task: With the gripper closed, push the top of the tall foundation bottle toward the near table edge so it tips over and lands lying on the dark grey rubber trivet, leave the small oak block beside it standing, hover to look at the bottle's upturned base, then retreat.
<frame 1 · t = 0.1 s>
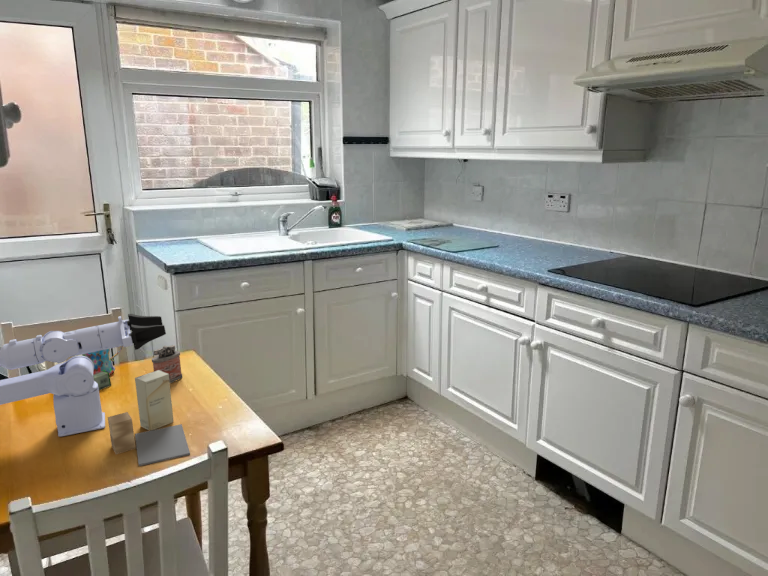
hand: (163, 325, 136), 22 cm above the table, tool horizontal, fingers open, 7 cm apart
oak block: (123, 447, 123), on the table
mug: (104, 374, 163), on the table
trivet: (161, 444, 124), on the table
lighter: (168, 381, 157), on the table
medication box: (88, 393, 151), on the table
skincare box: (157, 424, 133), on the table
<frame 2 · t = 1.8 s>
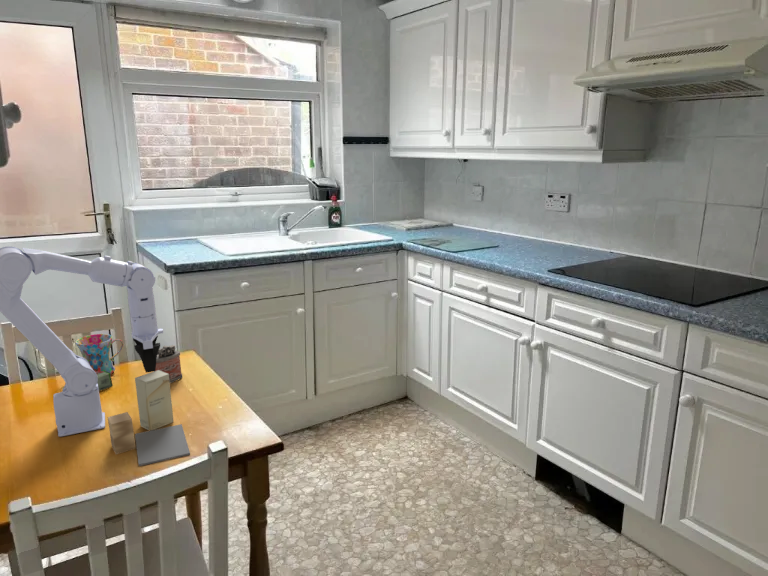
hand: (149, 367, 140), 10 cm above the table, tool pointing down, fingers open, 5 cm apart
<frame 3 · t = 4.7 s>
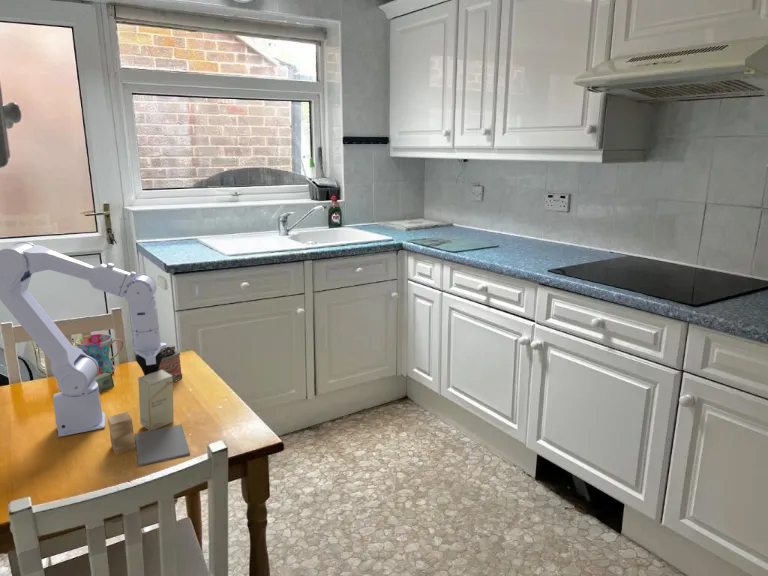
hand: (152, 383, 134), 9 cm above the table, tool pointing down, fingers closed
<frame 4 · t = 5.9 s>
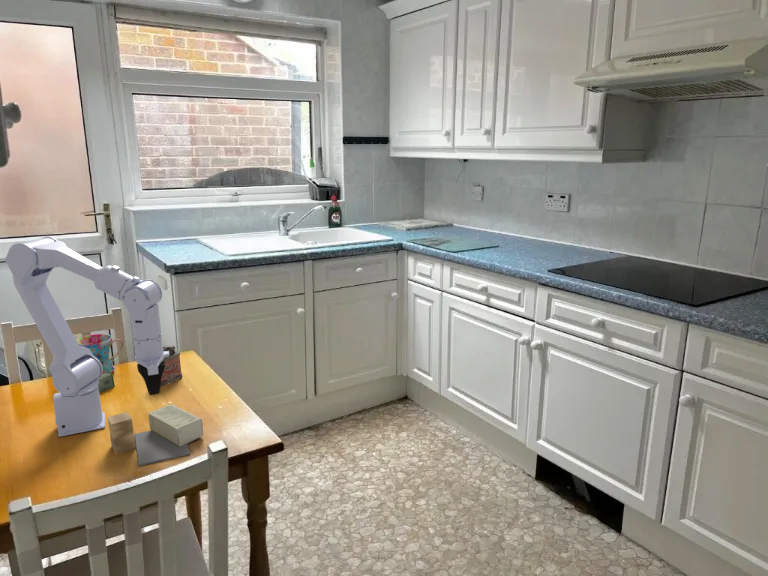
hand: (154, 393, 129), 9 cm above the table, tool pointing down, fingers closed
skincare box: (161, 415, 132), point 3 cm above the table, touching trivet
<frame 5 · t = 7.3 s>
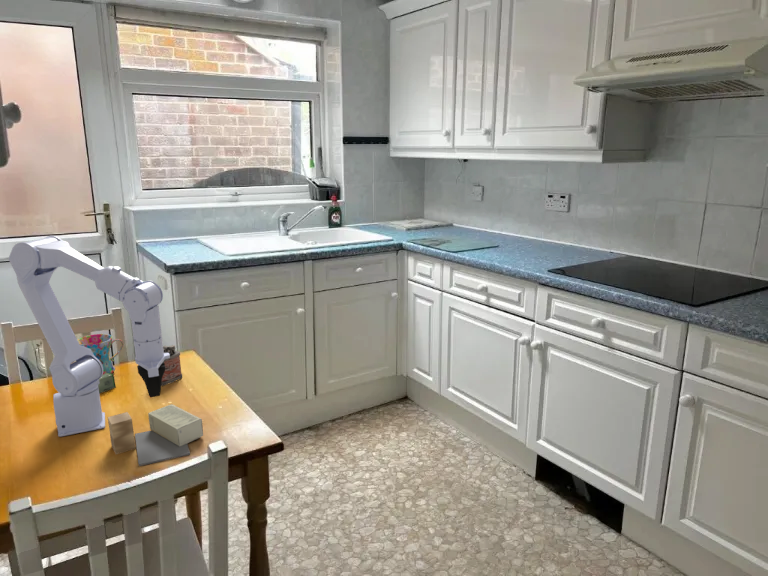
hand: (154, 395, 128), 9 cm above the table, tool pointing down, fingers closed
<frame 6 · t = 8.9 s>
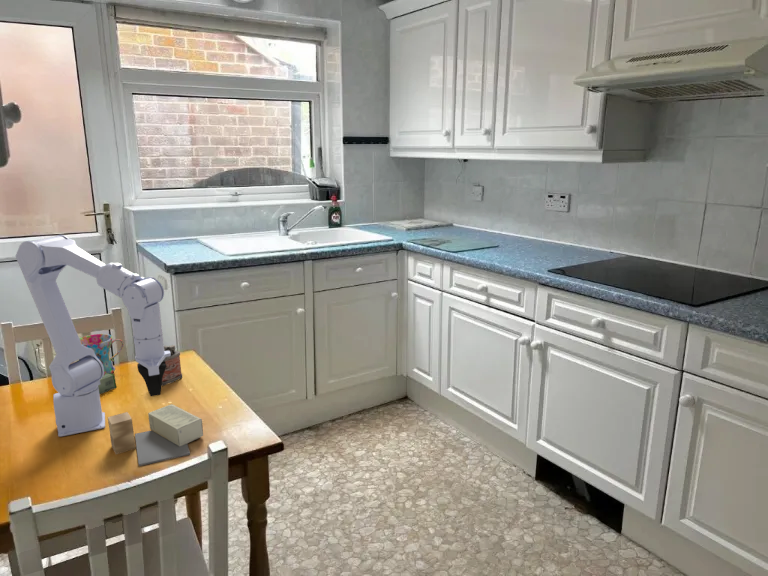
hand: (155, 394, 125), 10 cm above the table, tool pointing down, fingers closed
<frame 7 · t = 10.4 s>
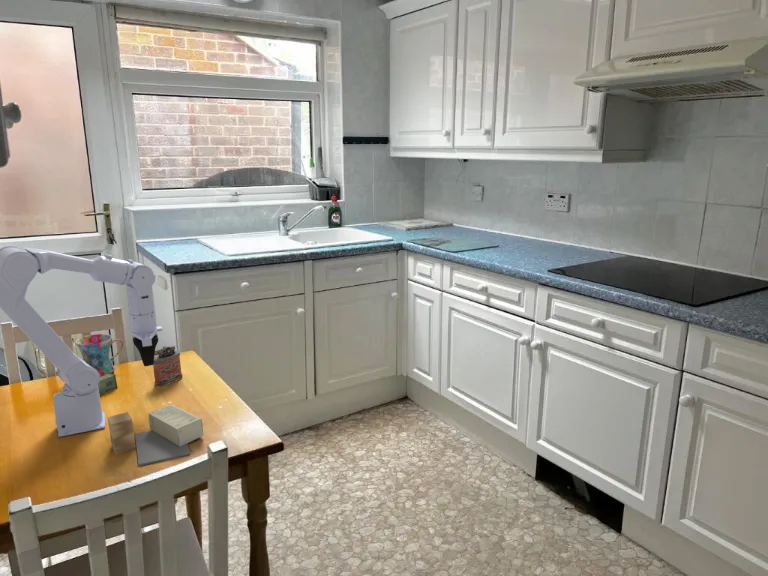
hand: (148, 364, 141), 10 cm above the table, tool pointing down, fingers closed
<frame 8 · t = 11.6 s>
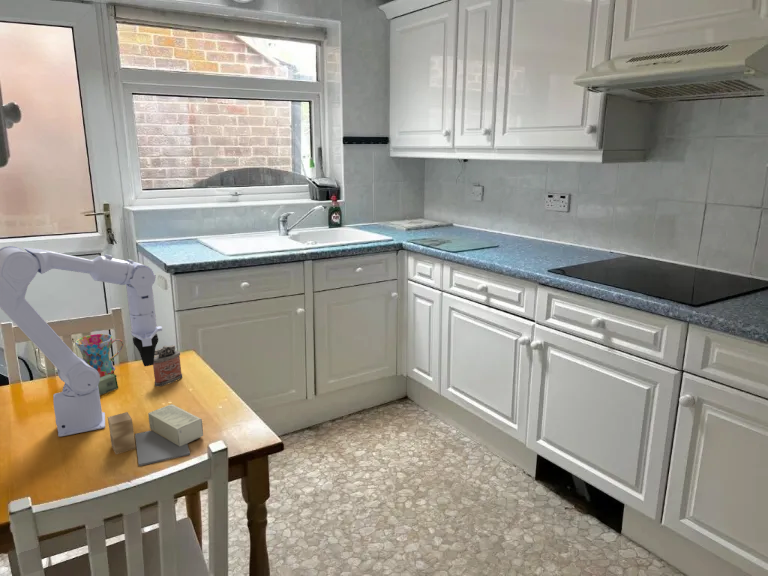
hand: (148, 364, 141), 10 cm above the table, tool pointing down, fingers closed
at the end: skincare box tilted 91°; skincare box inside the target area (8.9 cm from its centre), point 2.6 cm above the table; oak block tilted 0° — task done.
